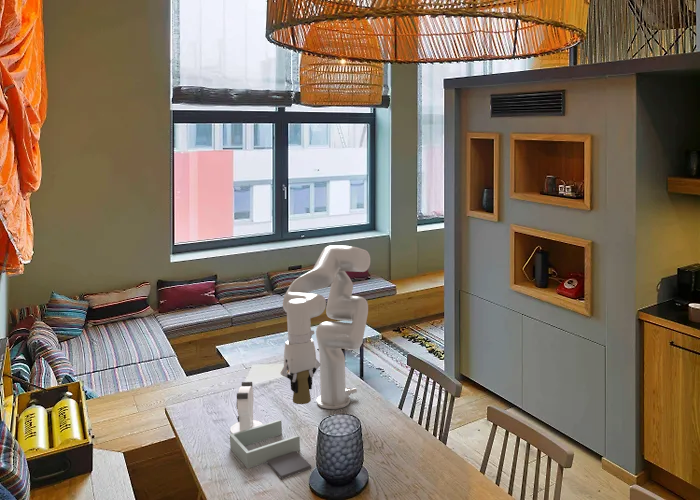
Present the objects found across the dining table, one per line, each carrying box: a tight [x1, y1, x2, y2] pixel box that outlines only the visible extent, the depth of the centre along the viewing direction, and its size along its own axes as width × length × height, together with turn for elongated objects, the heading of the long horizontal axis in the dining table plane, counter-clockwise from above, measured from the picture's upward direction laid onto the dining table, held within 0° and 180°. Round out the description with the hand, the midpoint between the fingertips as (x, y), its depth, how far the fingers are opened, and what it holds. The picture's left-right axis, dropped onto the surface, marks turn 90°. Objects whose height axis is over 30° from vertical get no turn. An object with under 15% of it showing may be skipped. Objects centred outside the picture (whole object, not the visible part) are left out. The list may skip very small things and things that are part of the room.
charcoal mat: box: [266, 451, 312, 480], centre depth 177 cm, size 10×10×1 cm
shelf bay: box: [229, 419, 301, 469], centre depth 187 cm, size 18×14×5 cm
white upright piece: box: [229, 381, 264, 434], centre depth 200 cm, size 12×11×15 cm
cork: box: [292, 370, 312, 405], centre depth 191 cm, size 6×6×11 cm
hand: (301, 389), depth 191 cm, fingers closed on cork, 4 cm apart
